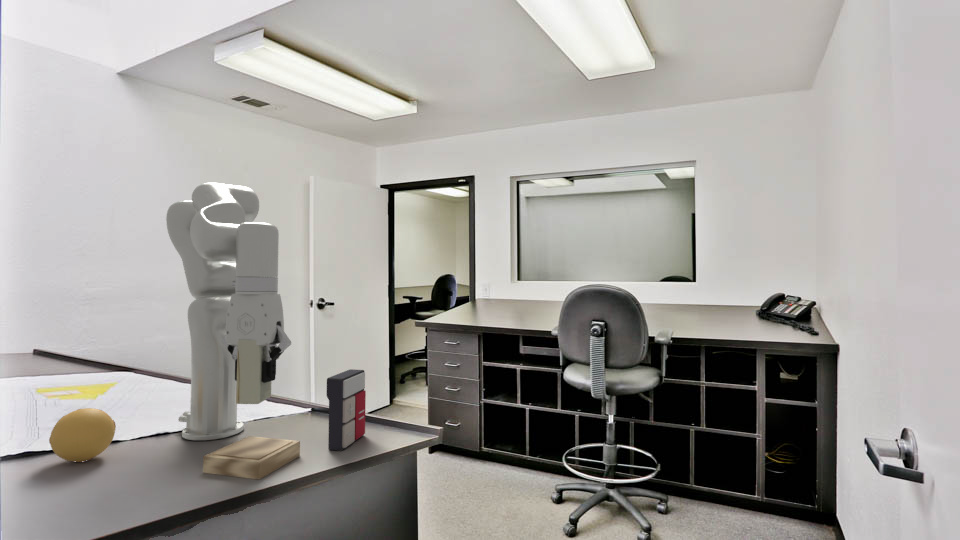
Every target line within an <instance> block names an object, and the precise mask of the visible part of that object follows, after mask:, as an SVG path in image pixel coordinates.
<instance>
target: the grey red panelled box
mask: <svg viewBox="0 0 960 540" xmlns="http://www.w3.org/2000/svg"><path fill="white" fill-rule="evenodd" d="M365 388H366V372H365V370H364V369H354V368H353V369H348V370H345V371H343V372H340V373H337V374H335V375H331V376H330V377H327V378H326V397H327V398H326V399H328V439H327V440H328V443H327V444H328V446H327V448H328V450H330V451H340V452H342V451H343V450H344V449H346V448H347V447H349V446H350V445H351V444H353V443H355V442H357V440H359V438H361V437H363V436H364V435H365V434H366V390H365Z"/></svg>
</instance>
